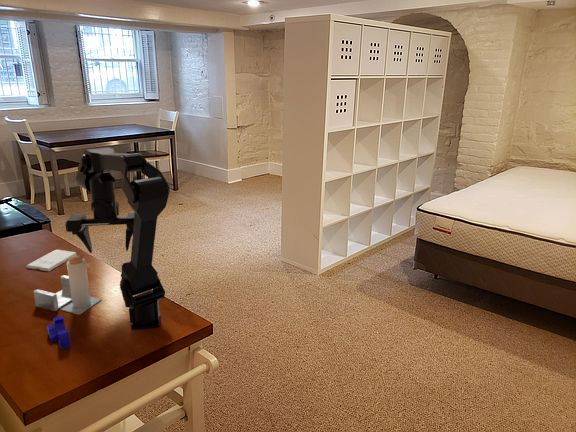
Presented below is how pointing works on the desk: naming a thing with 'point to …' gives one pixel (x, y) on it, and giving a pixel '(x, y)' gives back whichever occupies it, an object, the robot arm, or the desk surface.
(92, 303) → the pad
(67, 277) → the bracket
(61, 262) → the external hard drive
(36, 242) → the desk surface
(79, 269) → the white upright post
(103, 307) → the desk surface
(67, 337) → the cable holder
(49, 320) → the desk surface
